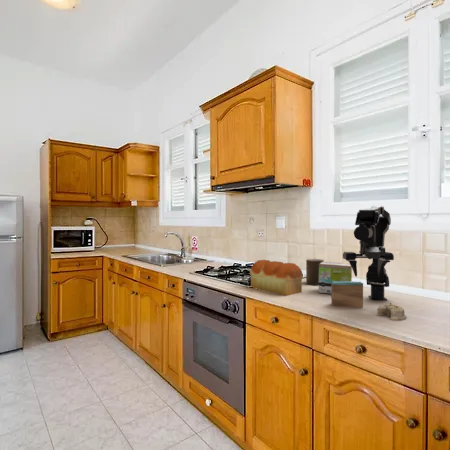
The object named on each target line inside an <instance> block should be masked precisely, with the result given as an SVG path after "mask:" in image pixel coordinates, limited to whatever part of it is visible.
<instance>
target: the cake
mask: <svg viewBox="0 0 450 450" xmlns="http://www.w3.org/2000/svg"><path fill="white" fill-rule="evenodd" d="M405 312H406V311H405V309H404V308H403V306H400V305H396V304H393V303H392V302H390V303H389V304H386V303H385V304H381V305H379V306H378V307H377V311H376V315H377V316H378V317H379V315H380V316H387V317H389V319H390V320H391V319H394V321H395V319H396V321H403V320H406V318H407V316H406V314H405Z"/></svg>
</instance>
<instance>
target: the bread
mask: <svg viewBox="0 0 450 450" xmlns="http://www.w3.org/2000/svg"><path fill="white" fill-rule="evenodd" d="M249 275H250V287H251V286H252V287H254V288H257V289H256V290H259V289H260V291H263V290H265V292H268V291H269V293H272V292H274V293H273V294H277V293H278V294H277V295H283V296H292V295H295V294H300V293H302V291H303V290H302V289H303V285H302V283H303V281H302V280H303V278H304V277H303V276H304V275H303V270H302V269H301V268H300V266H299V265H297V264H296V263H293V262H282V261H276V260H273V261H270V260H269V259H260V260H256V261H255V262H254V263H253V264H252V266H251V268H250V271H249ZM254 288H253V289H254Z"/></svg>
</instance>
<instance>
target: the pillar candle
mask: <svg viewBox="0 0 450 450" xmlns="http://www.w3.org/2000/svg"><path fill="white" fill-rule="evenodd" d="M305 261H306V264H305V265H306V267H305V268H306V269H305V271H306V274H305V275H306V276H305V279H306V280H305V282H306V284H307V285H312V286H318V284H319V264H320V263H321V262H325V261H324V259H320V258H319V259H317V258H308V259H306V260H305Z"/></svg>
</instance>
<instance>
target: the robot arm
mask: <svg viewBox="0 0 450 450" xmlns="http://www.w3.org/2000/svg"><path fill="white" fill-rule="evenodd" d="M391 223H392V219H391V215H390V212H388V211H387V210H386V209H385V207H384V206H383V205H373V206H371V207H369V208H360V209H359V210H358V211H357V213H356V217H355V223H354V225H355V226H357V227H356V228H354V230H353V236H354V238H355V239H356V240H357V241H359V242H358V243H359V245H360V247H359V248H360V249H359V251H358V252H359V253H356V252H354V251H343V252H342V259H344V260H345V261H346V262H348V264H350V265H351V267H352V271H353V272H352V273H353V274H354V276H355V277H356V278H357V276H358V269H357V267H358V266H357V263H358V260H356V259H368V260H372V261H371V262H372V263H371V264H369V265H368V267H367V272H366V274H365V275H366V276H365V278H366V285H367V286H370V295H367V297H368V298H369V299H371V300H373V301H375V300H377V301H378V300H379V301H387V300H388V299H387V298H386V297H385V288H388V287H390V279H389V278H390V277H389V276H388V273H387V269H386V265H387V264H388V263H390V262H391V261H394V260H395V256H394V254H393V253H392V252H388V251H386V247H385V238H386V237H385V236H386V234H387V232H388V231H389V230H390V226H391Z"/></svg>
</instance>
